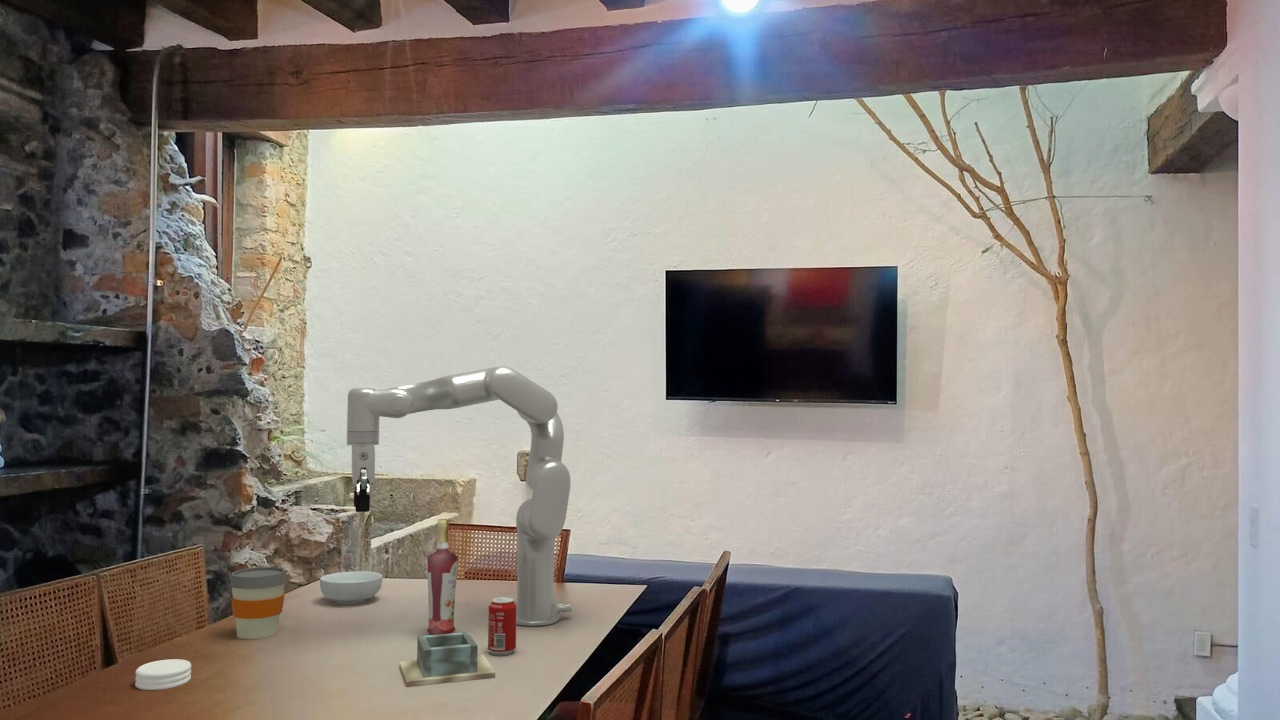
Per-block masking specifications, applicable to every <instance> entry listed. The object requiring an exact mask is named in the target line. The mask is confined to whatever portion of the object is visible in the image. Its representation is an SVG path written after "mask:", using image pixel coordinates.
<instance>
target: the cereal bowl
mask: <svg viewBox="0 0 1280 720" xmlns="http://www.w3.org/2000/svg"><path fill="white" fill-rule="evenodd" d="M382 584H383V575H382V574H381V573H379V572H375V571H374V572H373V571H363V570H362V571H360V570H359V571H344V572H336V573H335V572H334V573H329V574H326V575H322V576H321V577H320V579H319V588H320V592H321V593H322V595H323V596H324V597H326V598H327V599H329V600H333V602H334V601H335V603H336V604H339V605H358V604H361V603H364V602H366V600H367V599H371V598H373V597H374V596H375V595H377V593H379V591H380V590H381V588H382Z"/></svg>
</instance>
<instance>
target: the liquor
mask: <svg viewBox="0 0 1280 720" xmlns="http://www.w3.org/2000/svg"><path fill="white" fill-rule="evenodd" d="M449 523H450V519H448V518H440V519H437V531H438V534H437V535H438V536H437V543H436V551H435V552H432V553H431V554H429V556H427V557H426V558H427V559H426V561H427V562H426V563H427V565H426V566H427V589H428V596H427V597H428V627H427V629H426V631H427V633H428V634H429V635H439V634H450V633H454V632H455V631H456V626H455V625H454V624H455V608H456V607H455V606H456V605H455V603H456V589H457V578H458V555H457V554H455V552H452V551H450V547H449V532H448V531H449V526H450V524H449Z"/></svg>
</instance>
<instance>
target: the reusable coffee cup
mask: <svg viewBox="0 0 1280 720" xmlns="http://www.w3.org/2000/svg"><path fill="white" fill-rule="evenodd" d="M286 574H287V573H286V569H285V568H282V567H276V566H275V567H274V566H273V567H271V566H264V567H262V566H261V567H250V568H244V569H239V570H238V569H237V570H236V571H233V572H232V573H231V578H230V587H231V590H232V591H231V592H232V596H231V597H230V601H231V609H232V610H231V611H232V616H233V617H234V618H235V619H234V620H235V628H236V637H237V638H238V639H242V640H258V639H266V638H269V637H272V636H276V635H277V634H278V627H279V622H280V616H281V615H280V614H282V613H283V606H284V601H285V594H286V593H285V591H284V589H285V584H286V583H287V576H286Z"/></svg>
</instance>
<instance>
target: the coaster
mask: <svg viewBox="0 0 1280 720" xmlns="http://www.w3.org/2000/svg"><path fill="white" fill-rule="evenodd" d="M191 673H192V663H191V662H190V661H189V660H186V659H180V658H178V659H177V658H175V659H174V658H173V659H172V658H171V659H161V660H160V659H159V660H155V661H151V662H148V663H147V662H146V663H144V664H143V665H139V667H138V668H137V669H136V670H135V682H134V685H135V688H137V689H138V690H143V691H159V690H160V691H161V690H167V689H173V688H176V687H180V686H182V685H185V684H187V683H188V682H189V681H190V680H191V678H192V676H191Z"/></svg>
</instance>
